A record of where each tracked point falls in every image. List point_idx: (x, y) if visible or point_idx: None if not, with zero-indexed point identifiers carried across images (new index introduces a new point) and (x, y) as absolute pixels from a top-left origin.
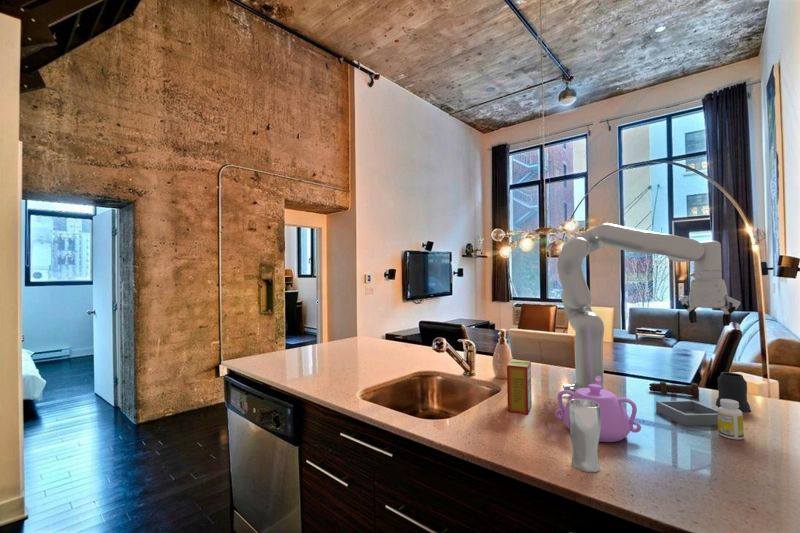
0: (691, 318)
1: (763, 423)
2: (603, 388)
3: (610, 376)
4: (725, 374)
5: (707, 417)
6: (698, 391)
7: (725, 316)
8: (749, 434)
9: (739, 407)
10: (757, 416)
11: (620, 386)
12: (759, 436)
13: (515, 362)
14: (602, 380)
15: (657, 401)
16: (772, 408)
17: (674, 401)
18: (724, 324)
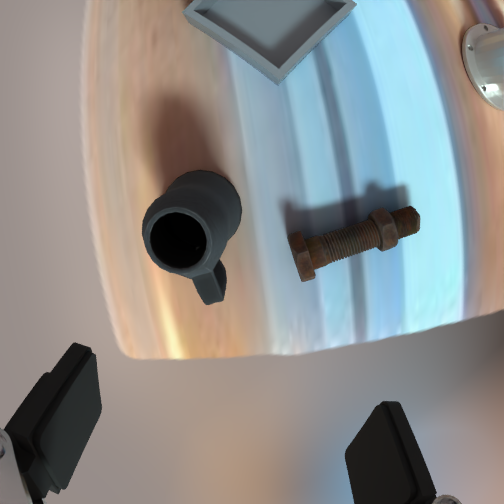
0: (401, 432)
1: (127, 113)
2: (486, 56)
3: (490, 301)
4: (202, 258)
5: None
6: (289, 238)
7: (27, 414)
8: (147, 6)
9: (178, 180)
10: (143, 167)
11: (471, 214)
12: (131, 11)
13: None
14: (500, 46)
15: (353, 4)
16: (133, 275)
17: (318, 31)
18: (76, 348)
